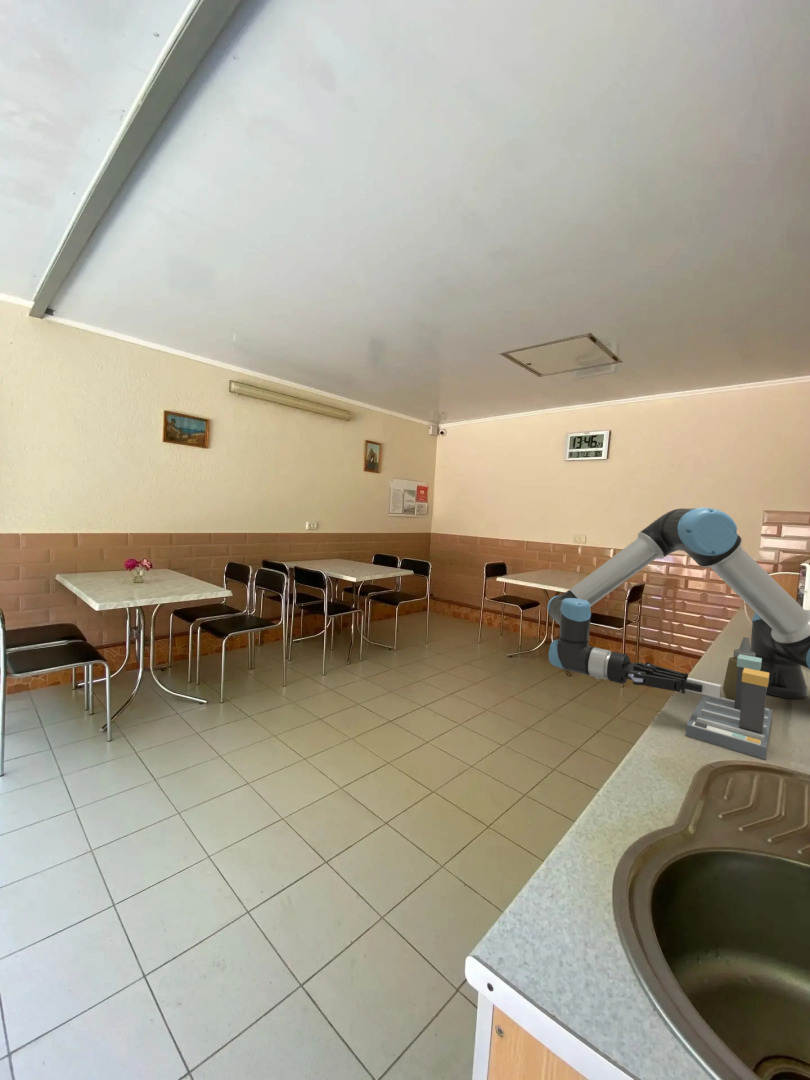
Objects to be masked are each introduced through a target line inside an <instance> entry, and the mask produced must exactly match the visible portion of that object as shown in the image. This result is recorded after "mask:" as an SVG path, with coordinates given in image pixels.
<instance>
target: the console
mask: <svg viewBox="0 0 810 1080" xmlns="http://www.w3.org/2000/svg"><path fill="white" fill-rule="evenodd" d="M734 706H735V701H734V700H730V699H726V698H724V697H721V696H720V698H715V697H711V696H707V695H703V694H702V697H701V699H700V700H699V702H698V704H697V706H696V707H695V709H694V711H693V713H692V714H691V715H690V718H689V719H688V721H687V723H686V726H685V729H686V730H685V737H689V738H692V739H695V740H698V741H701V742H705V743H709V744H712V745H715V746H718V747H721V748H725V749H729V750H732V751H735V752H738V753H741V754H745V755H748V756H750V757H751V756H752V757H753V758H754V757H755V758H758V759H761V760H765V761H766V758H767V751H768V745H769V737H770V732H769V731H770V730H771V725H772V718H773V716H772V714H773V709H770V708H766V707H765V716H764V727H763V735H762V734H758V733H754V732H751V731H747V730H743V729H740V728H739V722H740V710H738V709H734Z"/></svg>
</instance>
